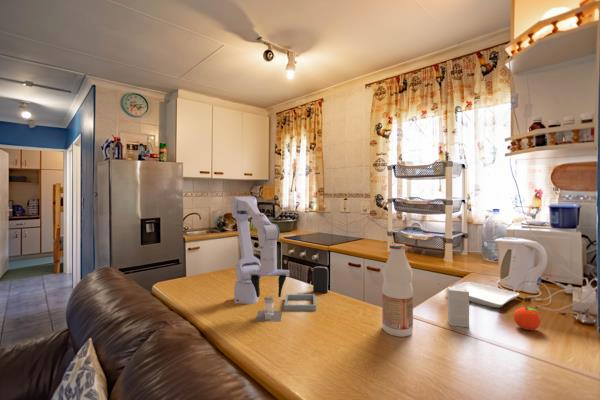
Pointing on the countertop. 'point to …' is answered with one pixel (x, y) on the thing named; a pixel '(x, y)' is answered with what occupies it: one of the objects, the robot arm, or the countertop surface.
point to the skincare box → (458, 306)
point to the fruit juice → (397, 293)
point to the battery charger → (320, 279)
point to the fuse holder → (268, 316)
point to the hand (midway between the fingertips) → (269, 296)
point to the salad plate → (487, 294)
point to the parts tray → (300, 307)
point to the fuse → (269, 305)
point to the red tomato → (527, 318)
